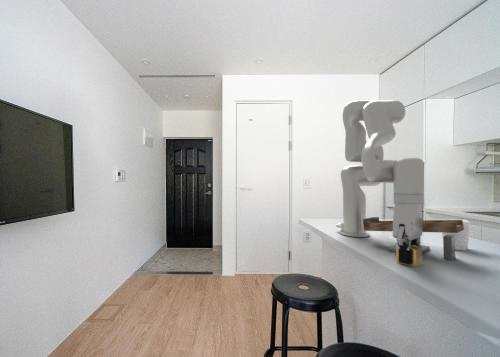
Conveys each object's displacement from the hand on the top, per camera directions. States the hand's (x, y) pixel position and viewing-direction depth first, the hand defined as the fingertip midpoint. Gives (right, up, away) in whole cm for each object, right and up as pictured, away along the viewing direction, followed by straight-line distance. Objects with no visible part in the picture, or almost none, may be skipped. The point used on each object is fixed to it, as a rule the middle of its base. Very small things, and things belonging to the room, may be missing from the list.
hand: (409, 260), depth 69 cm
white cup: (+28, -1, +16) cm, 32 cm away
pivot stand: (+9, -1, +13) cm, 16 cm away
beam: (+9, +6, +13) cm, 17 cm away
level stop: (+16, -1, +4) cm, 16 cm away
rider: (0, -1, 0) cm, 1 cm away
